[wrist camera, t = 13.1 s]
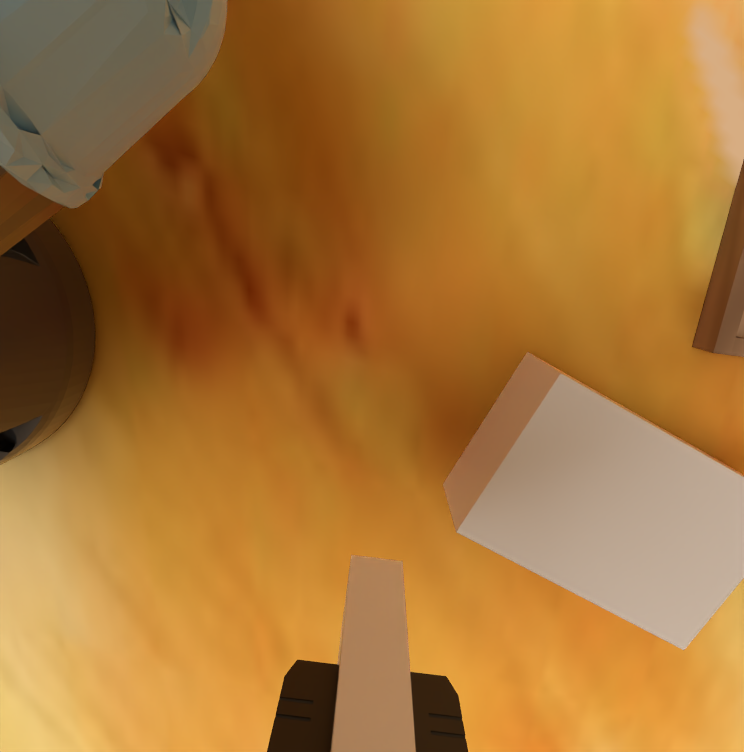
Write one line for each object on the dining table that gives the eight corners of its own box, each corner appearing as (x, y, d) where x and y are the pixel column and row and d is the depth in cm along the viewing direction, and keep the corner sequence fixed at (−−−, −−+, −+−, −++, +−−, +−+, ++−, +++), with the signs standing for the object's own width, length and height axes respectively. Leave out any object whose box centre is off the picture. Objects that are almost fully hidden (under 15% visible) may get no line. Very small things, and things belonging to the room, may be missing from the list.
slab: (442, 482, 27) (456, 532, 22) (525, 350, 25) (560, 373, 20) (631, 581, 28) (683, 650, 23) (722, 462, 26) (800, 509, 22)
